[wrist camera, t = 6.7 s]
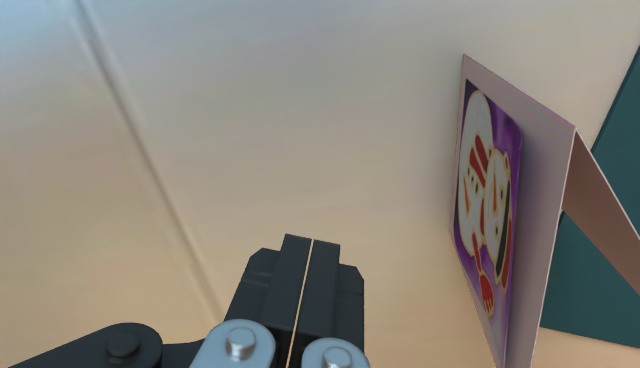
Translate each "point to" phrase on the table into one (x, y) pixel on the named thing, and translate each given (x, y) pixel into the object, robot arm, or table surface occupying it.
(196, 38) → the table surface
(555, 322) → the placemat
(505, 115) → the greeting card
